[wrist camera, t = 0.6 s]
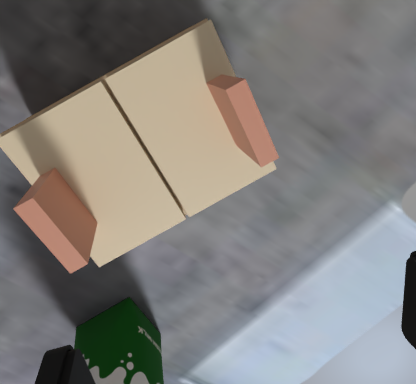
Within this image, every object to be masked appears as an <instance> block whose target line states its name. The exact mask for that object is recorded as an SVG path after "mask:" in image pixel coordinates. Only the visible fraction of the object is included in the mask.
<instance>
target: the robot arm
mask: <svg viewBox="0 0 416 384" xmlns="http://www.w3.org/2000/svg"><path fill="white" fill-rule="evenodd" d="M402 332H403V334H404V336H405V338H406V339H407V340H408V342H409V343H410V344H411V345H412V346H413V347H414V348H415V349H416V251H414V252H412V253H411V255H410V258H409V259H408V260H407V262H406V274H405V287H404V300H403V313H402ZM35 384H96V383H95V381H94V379H93V377H92V374H91V372H90V370H89V368H88V366H87V363H86V361H85V359H84V357H83V354H82V352H81V350H80V349H75V350H74V349H73V347H72V346H71V345H67V346H63V347H60V348H56V349H52V350H49V351H47V352H46V353H45V354H44V357H43V360H42V363H41V366H40V369H39V372H38V375H37V378H36V381H35Z"/></svg>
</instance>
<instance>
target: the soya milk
mask: <svg viewBox="0 0 416 384" xmlns="http://www.w3.org/2000/svg"><path fill="white" fill-rule="evenodd" d="M75 349H80V350H81V352H82V354H83V357H84V359H85V361H86V363H87V366H88V368H89V370H90V372H91V374H92V377H93V379H94V381H95V383H96V384H164V381H163V369H162V356H161V334H160V333H159V332H158V330H157V329H156V328H155V327H154V326H153V324H152V323H151V322H150V321H149V320H148V319H147V317H146V316H145V315H144V314H143V313H142V311H141V310H140V309H139V308H138V307H137V305H136V304H135V303H134V302H133V301H132V300H131V298H130V297H129V298H127V299H125V300H123V301H122V302H120V303H118V304H116V305H115V306H113V307H111V308H109V309H108V310H106V311H104V312H102V313H101V314H99V315H97V316H95V317H94V318H92V319H90V320H88V321H87V322H85V323H83V324H81V325H80V326H78V327H77V328H76V337H75V346H74V350H75Z"/></svg>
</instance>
